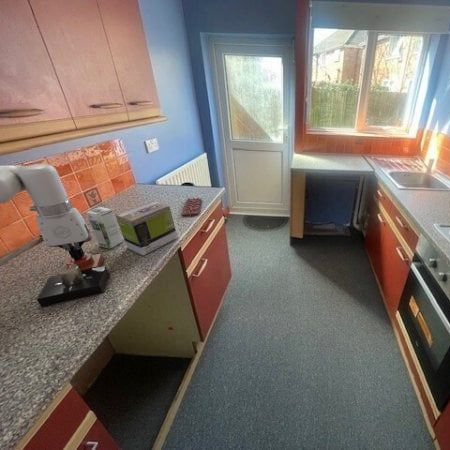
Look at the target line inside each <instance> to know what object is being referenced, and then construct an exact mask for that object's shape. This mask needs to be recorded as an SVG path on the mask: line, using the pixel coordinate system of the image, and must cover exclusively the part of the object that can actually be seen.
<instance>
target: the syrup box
mask: <svg viewBox="0 0 450 450" xmlns="http://www.w3.org/2000/svg"><path fill="white" fill-rule="evenodd" d="M86 216H87V218H88V220H89V224H90V226H91V229H92V232H93V234H94V236H95V239H96V241H97V244H98V247H102V248H106V249H109V250H111V249H112V248H114V247H116V246H118V245H119V244H121V243H123V242H124V241H123V238H122V234H121V231H120V228H119V225H118V222H117V219H116V216H115V214H114V211H113V209H112V208H108V207H102V206H99V207H96V208H93V209H90V210H88V211H86Z"/></svg>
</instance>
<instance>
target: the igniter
mask: <svg viewBox="0 0 450 450" xmlns="http://www.w3.org/2000/svg"><path fill="white" fill-rule="evenodd" d="M84 256H85V257H86V259H84V260H83V261H80V262H76V263H72V259H73V258H71V256H70V257H69V258H67V259H65V260H64V262H63V263H62V265H61V267H60V269H61V268H62V267H64V266H67V265H69V264H76V265H78V267H79V269H80V271H82V270H87V269H92V268H98V267H102V264H103V261H104V256H103V254H102V253H97V254H91V253H90V252H89V253H88V252H84ZM57 275H59V273H58V272H57Z"/></svg>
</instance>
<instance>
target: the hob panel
mask: <svg viewBox="0 0 450 450" xmlns="http://www.w3.org/2000/svg"><path fill="white" fill-rule="evenodd" d="M81 274H82V276H83V280H82V281H81V282H80V283H78V284H75V285H72V286H66V285H65V284H64V283H63V281H62V279H61V277H60V275H58V274H57V275H52V276H49V277H48V279H47V281H46V282H45V284H44V286H43V287H42V289H41V291H40V292H39V294H38V296H37V298H36V301H37V302H38V304H39V306H40V307H41V308H43V307H48V306H52V305H57V304H61V303H65V302H69V301H73V300H78V299H83V298H87V297H91V296H96V295H100V294H103V293H104V290H105V287H106V283H107V280H108V278H109V271H108V269H107V266H106V265H103V266H101V267H98V268H92V269H87V270H82V271H81Z"/></svg>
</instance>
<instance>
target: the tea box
mask: <svg viewBox="0 0 450 450" xmlns="http://www.w3.org/2000/svg"><path fill="white" fill-rule="evenodd" d="M115 219H116V222H117V225H118V227H119V230H120V233H121V235H122V237H123V240H124V242H125V245H126V247H127V249H129V250H131V251H133V252H135V253H136V254H138V255H141V256H146V255H147V254H149V253H151V252H153V251H155V250H157V249H158V248H161V247H163V246H164V245H167V244H168V243H171V242H172V241H174V240H176V239H178V233H177V229H176V226H175V221H174V218H173V214H172V210H171V207H170V205H166V204H163V203H160V202H157V201H155V200H153V201H149V202H147V203H144V204H142V205H140V206H136V207H134V208H130V209H128V210H125V211H122V212H120V213H117V214H115Z"/></svg>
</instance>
